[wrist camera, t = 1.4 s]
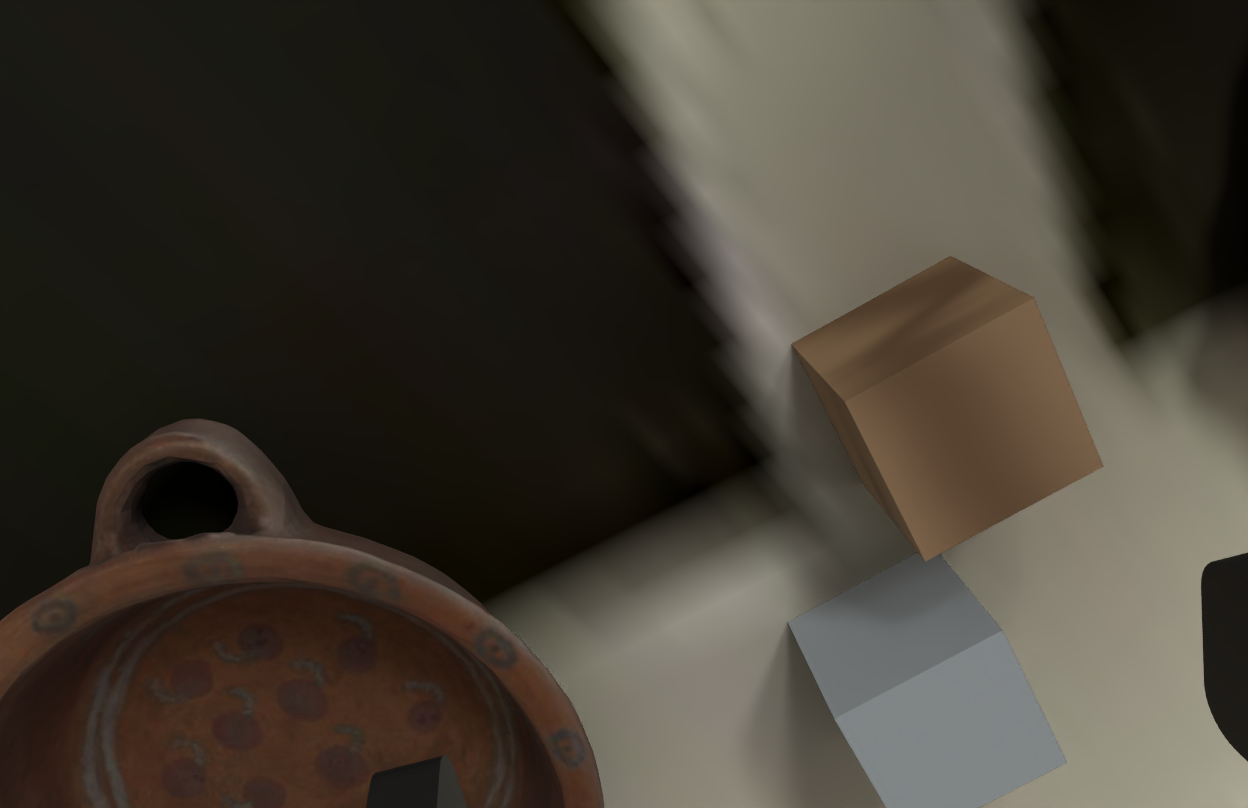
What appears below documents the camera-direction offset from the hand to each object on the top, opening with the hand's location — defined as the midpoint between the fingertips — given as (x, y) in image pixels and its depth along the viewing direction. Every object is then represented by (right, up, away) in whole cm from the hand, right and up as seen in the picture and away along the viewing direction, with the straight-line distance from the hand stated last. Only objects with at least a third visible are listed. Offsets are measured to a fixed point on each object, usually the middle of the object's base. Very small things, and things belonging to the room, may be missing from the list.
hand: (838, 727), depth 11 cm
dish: (-12, -7, +22) cm, 26 cm away
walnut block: (+6, +4, +20) cm, 21 cm away
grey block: (+6, -4, +23) cm, 24 cm away
